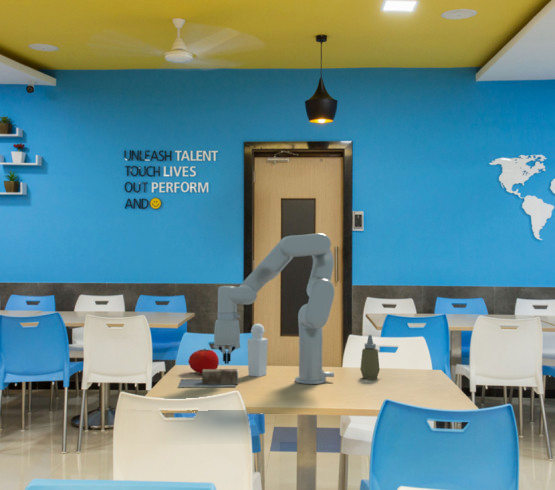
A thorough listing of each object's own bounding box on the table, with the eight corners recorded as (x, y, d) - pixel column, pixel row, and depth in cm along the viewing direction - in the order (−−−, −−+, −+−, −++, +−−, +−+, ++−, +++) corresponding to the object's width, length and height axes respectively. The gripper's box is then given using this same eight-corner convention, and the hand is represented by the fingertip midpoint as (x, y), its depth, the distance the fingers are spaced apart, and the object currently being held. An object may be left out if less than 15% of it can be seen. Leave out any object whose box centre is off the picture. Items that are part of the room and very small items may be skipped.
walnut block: (238, 369, 235) (202, 369, 233) (238, 371, 230) (202, 371, 228) (237, 381, 234) (202, 381, 233) (238, 384, 229) (202, 384, 228)
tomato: (224, 373, 253) (225, 349, 253) (203, 377, 244) (203, 352, 244) (204, 369, 262) (204, 345, 262) (182, 373, 252) (183, 348, 253)
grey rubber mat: (235, 380, 239) (235, 378, 239) (235, 387, 225) (235, 385, 225) (180, 380, 237) (181, 379, 237) (177, 387, 223) (177, 386, 223)
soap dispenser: (259, 377, 245) (259, 324, 246) (246, 375, 248) (247, 323, 249) (267, 374, 251) (268, 323, 251) (255, 373, 254) (255, 322, 255)
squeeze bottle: (358, 379, 243) (358, 335, 243) (362, 375, 250) (362, 333, 251) (377, 380, 240) (377, 336, 240) (381, 377, 247) (381, 334, 248)
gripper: (245, 316, 237) (245, 361, 236) (208, 316, 235) (208, 361, 235) (246, 317, 229) (245, 364, 229) (207, 317, 228) (207, 365, 227)
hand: (226, 363), depth 232 cm, fingers closed
